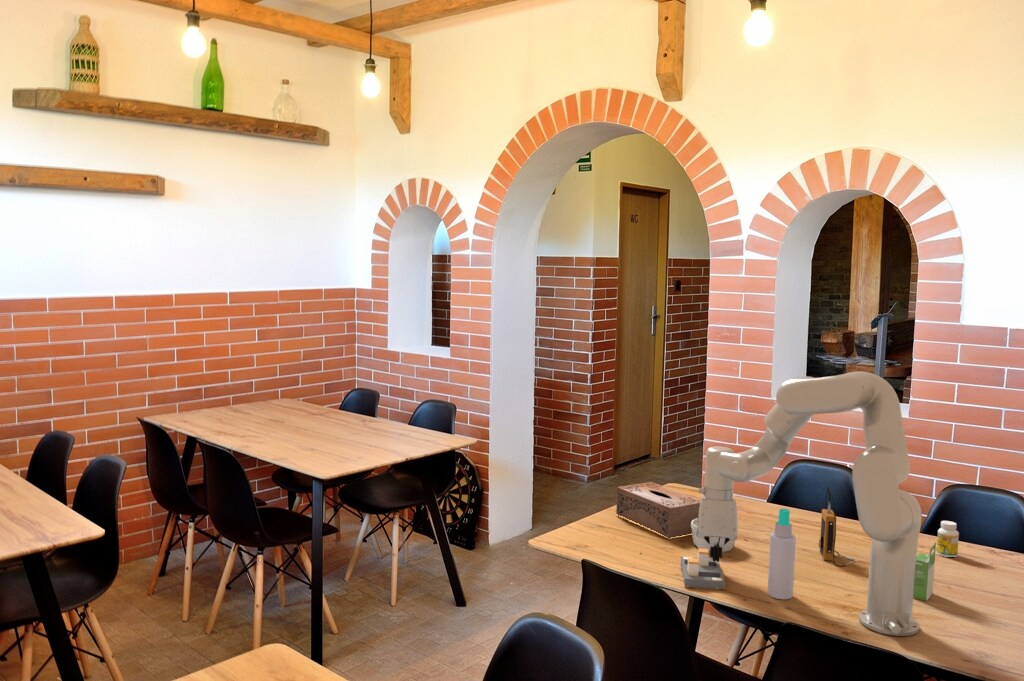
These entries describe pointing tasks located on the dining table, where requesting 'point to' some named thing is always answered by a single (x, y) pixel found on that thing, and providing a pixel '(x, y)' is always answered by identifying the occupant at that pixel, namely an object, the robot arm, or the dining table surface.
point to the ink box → (924, 575)
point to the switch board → (704, 575)
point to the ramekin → (703, 543)
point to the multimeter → (829, 533)
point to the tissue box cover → (658, 508)
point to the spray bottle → (782, 558)
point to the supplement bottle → (947, 539)
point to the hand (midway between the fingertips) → (715, 559)
